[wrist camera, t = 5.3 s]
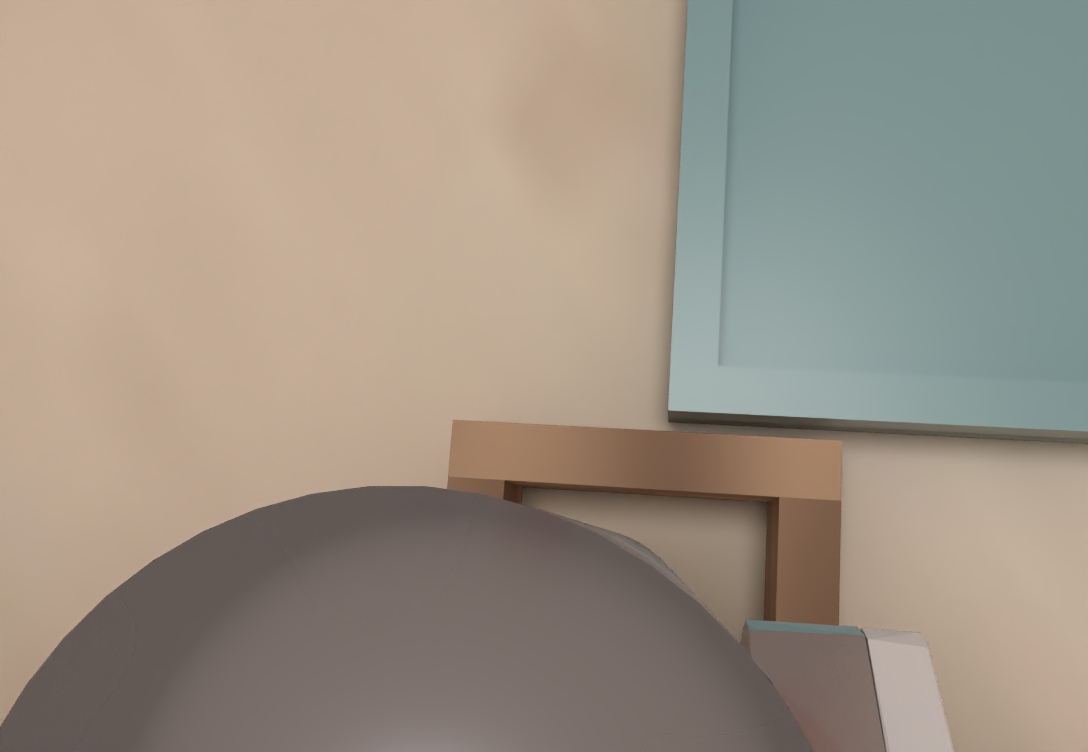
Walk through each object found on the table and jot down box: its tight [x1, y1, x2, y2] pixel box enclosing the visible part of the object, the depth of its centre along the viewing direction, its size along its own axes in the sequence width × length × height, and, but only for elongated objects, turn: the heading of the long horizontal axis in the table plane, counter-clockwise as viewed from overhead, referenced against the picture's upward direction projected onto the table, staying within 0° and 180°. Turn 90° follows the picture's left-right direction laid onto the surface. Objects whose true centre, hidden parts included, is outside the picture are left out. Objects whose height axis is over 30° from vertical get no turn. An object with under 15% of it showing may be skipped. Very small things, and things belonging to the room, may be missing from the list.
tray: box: [668, 0, 1088, 444], centre depth 22 cm, size 13×13×2 cm
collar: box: [447, 420, 842, 626], centre depth 21 cm, size 8×8×2 cm
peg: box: [0, 486, 815, 752], centre depth 10 cm, size 4×4×12 cm
